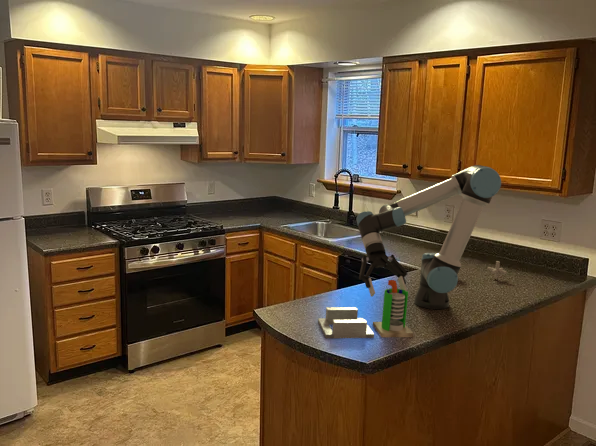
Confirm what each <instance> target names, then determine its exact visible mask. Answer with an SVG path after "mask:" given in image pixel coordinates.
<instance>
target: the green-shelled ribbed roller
mask: <svg viewBox="0 0 596 446" xmlns="http://www.w3.org/2000/svg"><path fill="white" fill-rule="evenodd" d="M387 282H388V283H387V285H388V286H390V287H391V288H386V289H385V290H384V294H383V307H382V315H381V317H382V318H381V322H382V328H383V329H384V330H387V331H389V330H391V331H401V330H403V327H405V325H406V320H407V309H408V300H409V291H408V290H407V291H405V290H402V289H401V288H398V284H397V281H396V280H394V279H389V280H388V281H387Z"/></svg>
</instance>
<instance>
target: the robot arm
mask: <svg viewBox="0 0 596 446" xmlns="http://www.w3.org/2000/svg"><path fill="white" fill-rule="evenodd" d="M501 187H502V178H501V176H500V174H499V173H498V171H496V170H495V169H493V168H492V167H490V166H485V165H480V164H474V165H471V166H469V167H466V168H465V169H463V170H461V171H459V172H457V173H455V174H452V175H451V177H450V178H449V179H446V180H444V181H441V182H439V183H436V184H434V185H432V186H429V187H427V188H425V189H423V190H420V191H418V192H415V193H413V194H411V195H408V196H406V197H404V198H401V199H399V200H397V201H395V202H392V203H390V204H384V205H382V206H381V207H379V211H378V213H375V214H374V213H373V212H372V211H369V210H367V211H366V210H364V211H362V212H359V213H358V214H357V216H356V218H355V219H356V224H357V227H358V228H357V229H358V231H359V234H360V237H361V239H362V243H363V247H364V249H365V250H364V251H365V253H366V255H363V256H362V258H361V260H360V262H361V267H360V270H359V275H358V280H360V281H361V280H362V282H363V283H365V287H366V289H368V292H369V294H370V297H374V295H376V291H375V288H374V285H373V284H374V283H373V281H372V278H371V277H370V275H371V274H372V272H373V270H374V268H376V269H378V268H381V269H383V268H384V269H387V270H388V271H390V272H391V273H392V275H395V276H396V277H397V282H398V284H399V289H402V290H405V291H407V292H408V289H407V286H406V285H407V281H406V279H405V277H407V275H408V272H407V270H406V269H405V268H404V267H403V265H401V264H400V262H399V261H398V260H397V259H396V257H395V255H394V254H390V255H387V253H386V249H385V246H384V245H385V244H384V243H383V240H382V237H381V234H380V233H382V232H384V231H388V230H390V229H393V228H397V227H398V228H399V227H401V226H403V225H405V224H406V223H407V218H406V217H407V216H410V215H412V214H415V213H417V212H420V211H421V210H424V209H427V208H429V207H432V206H433V205H437V204H438V203H441V202H444V201H446V200H449V199H450V198H453V197H455V196H461V197H462V200H461V202H460V204H459V206H458V209H457V211H456V214H455V216H454V217H453V218H454V219H453V221H452V223H451V225H450V228H449V230H448V232H447V235H446V236H445V239H444V241H443V244H442V246H441V248H440V250H439V252H424V253H423V254H422V256H421V260H420V261H421V264H420V265H421V266H420V276H419V285H418V287H417V290H416V293H415V296H414V299H413V300H414V301H413V302H414V304H415V305H416V306H419V307H421V308H425V309H429V310H445V309H447V308H449V307H450V299H449V298H450V297H449V294H448V293H449V292H451V291H453V290H454V289H456V287H457V285H458V281H459V277H458V274H459V272H460V270H461V268H462V263H461V258H462V257H463V254H464V251H465V249H466V247H467V244H468V242H469V241H470V237H472V236H471V235H472V234H473V232H474V229H475V227H476V224H477V222H478V220H479V218H480V216H481V214H482V212H483V209H484V207H486V206H490V203H491V201H492V198H493V197H494V196H495V195H496V194H498V192H499V191H500V189H501ZM367 263H370V266H369V268H368V270H367V272H366V267H367ZM365 272H366V274H365Z"/></svg>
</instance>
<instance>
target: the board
mask: <svg viewBox="0 0 596 446" xmlns="http://www.w3.org/2000/svg"><path fill="white" fill-rule="evenodd" d="M372 326H373V328H374V329H375V330H376V332H377V333H378V334H379V337H380V338H414V332H413V331H412V330H411V329H410V328H409V327H408V326H407V325H406V324H405V327H403V330H401V331H391V330H389V331H387V330H384V329H383V328H382V321H372Z"/></svg>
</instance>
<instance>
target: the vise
mask: <svg viewBox="0 0 596 446" xmlns="http://www.w3.org/2000/svg"><path fill="white" fill-rule="evenodd" d="M358 312H359V310H358V308H357V307H355V306H352V307H351V306H347V307H345V306H343V307H341V306H338V307H337V306H336V307H333V306H331V307H327V306H326V308H325V318H324V317H323V318H317V323H318V325H319V327H320V330H321V331H322V334H323V336H324V338H325V339H374V338H375V333H374V332H373V330H372V329H371V328H370V327H371V326H369V325H368V322H367V320H366V319H364V318H363V317H358V316H359V315H358V314H359V313H358ZM331 325H332V327H331Z"/></svg>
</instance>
